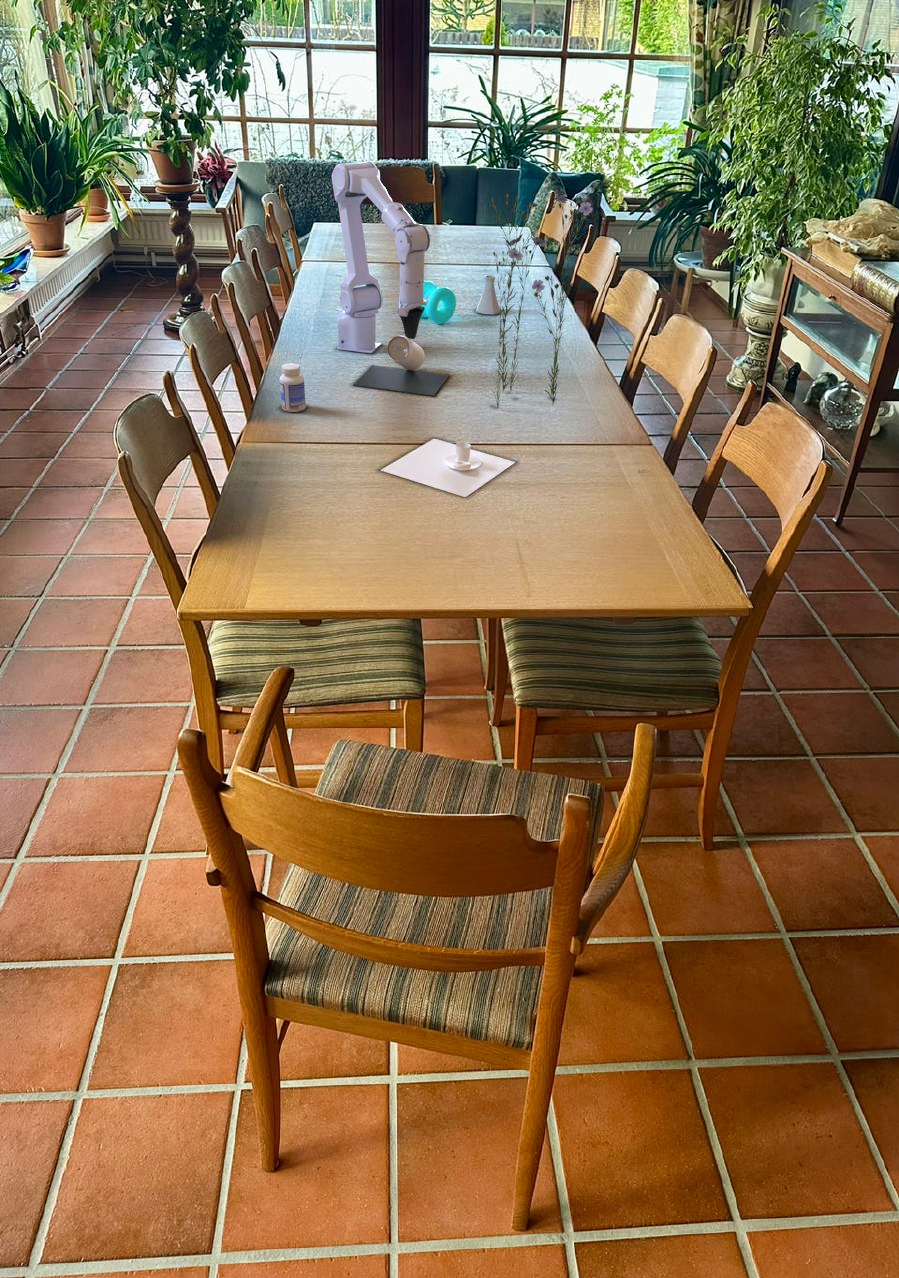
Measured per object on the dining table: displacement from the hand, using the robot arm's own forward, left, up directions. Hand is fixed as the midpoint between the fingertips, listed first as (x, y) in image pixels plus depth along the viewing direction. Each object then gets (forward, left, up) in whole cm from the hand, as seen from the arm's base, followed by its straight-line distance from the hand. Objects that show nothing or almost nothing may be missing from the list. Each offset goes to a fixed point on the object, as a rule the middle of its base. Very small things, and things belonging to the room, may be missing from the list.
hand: (410, 337), depth 241 cm
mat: (0, -7, -8) cm, 11 cm away
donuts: (-6, +43, -9) cm, 44 cm away
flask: (+7, +57, -9) cm, 58 cm away
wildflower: (+31, -9, -9) cm, 33 cm away
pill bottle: (-18, -32, -9) cm, 38 cm away
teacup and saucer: (+23, -50, -9) cm, 56 cm away
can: (0, +3, -6) cm, 6 cm away
